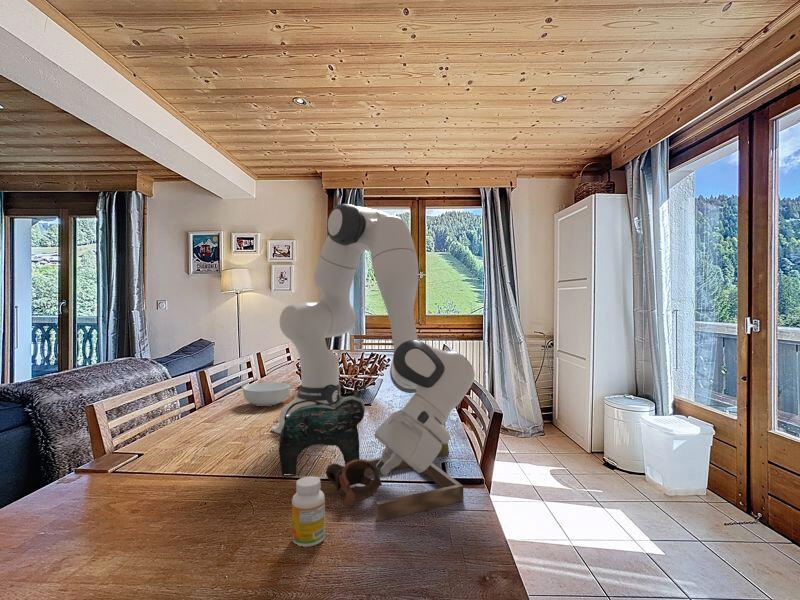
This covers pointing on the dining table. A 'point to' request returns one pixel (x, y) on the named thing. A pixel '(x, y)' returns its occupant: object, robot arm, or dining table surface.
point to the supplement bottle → (308, 512)
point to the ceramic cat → (321, 429)
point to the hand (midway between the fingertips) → (380, 471)
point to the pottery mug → (354, 480)
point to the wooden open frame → (419, 494)
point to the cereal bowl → (266, 393)
